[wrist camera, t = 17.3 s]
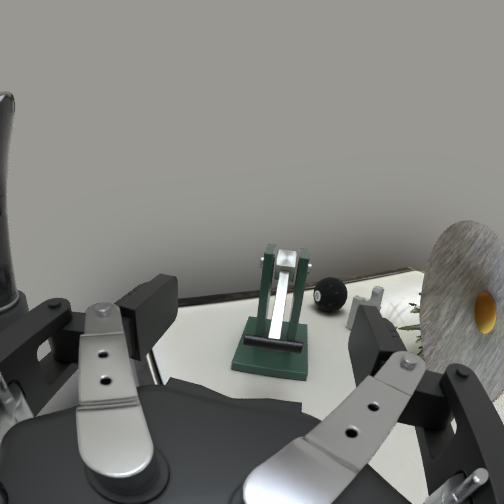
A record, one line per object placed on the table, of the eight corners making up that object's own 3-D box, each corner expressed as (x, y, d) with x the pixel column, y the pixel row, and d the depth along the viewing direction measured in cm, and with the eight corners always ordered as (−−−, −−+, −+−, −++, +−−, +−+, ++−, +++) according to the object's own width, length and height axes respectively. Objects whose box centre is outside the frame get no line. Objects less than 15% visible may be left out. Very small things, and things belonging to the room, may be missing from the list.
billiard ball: (349, 314, 48) (356, 283, 47) (322, 319, 46) (329, 286, 45) (330, 300, 54) (336, 271, 52) (305, 304, 52) (310, 273, 50)
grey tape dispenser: (346, 327, 44) (374, 311, 50) (352, 331, 43) (379, 313, 49) (353, 296, 42) (381, 283, 48) (360, 299, 41) (387, 285, 47)
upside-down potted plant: (481, 385, 34) (460, 264, 45) (549, 373, 19) (516, 220, 29) (370, 425, 34) (353, 274, 44) (436, 443, 18) (401, 217, 28)
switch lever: (299, 359, 25) (303, 346, 24) (242, 350, 26) (242, 337, 25) (307, 267, 35) (310, 253, 34) (264, 262, 36) (265, 247, 34)
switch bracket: (305, 380, 31) (330, 272, 27) (231, 369, 32) (239, 260, 28) (305, 330, 42) (321, 244, 38) (248, 322, 43) (257, 235, 40)
